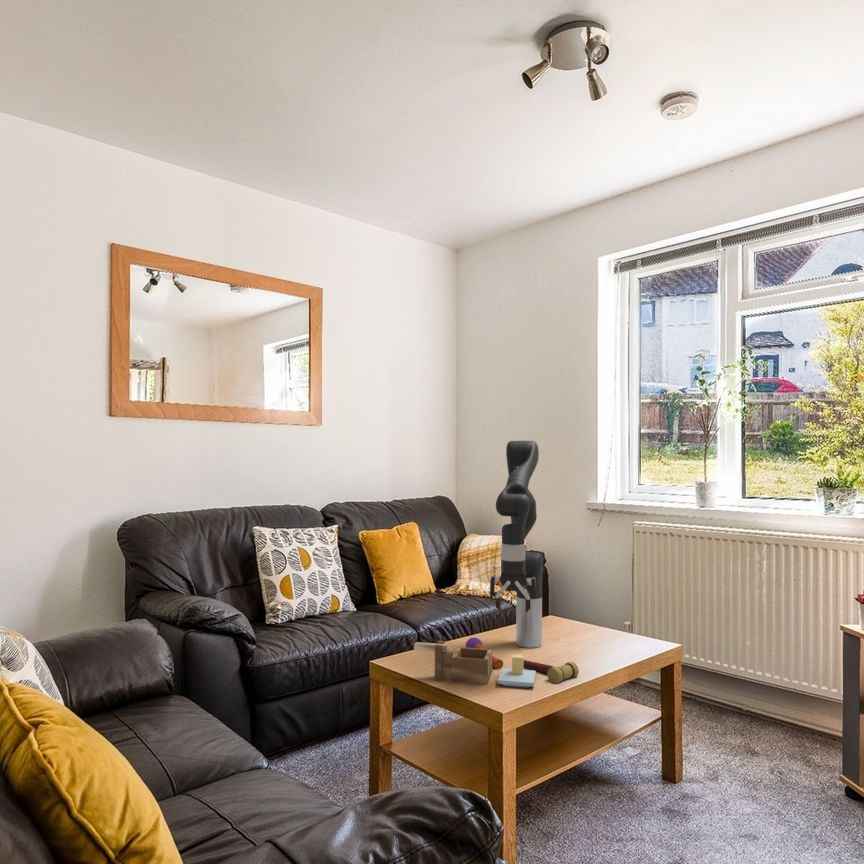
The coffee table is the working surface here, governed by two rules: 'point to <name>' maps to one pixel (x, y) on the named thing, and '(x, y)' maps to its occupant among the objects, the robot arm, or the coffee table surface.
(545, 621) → the coffee table surface
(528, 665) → the gavel
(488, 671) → the toolbox
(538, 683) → the coffee table surface
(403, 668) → the coffee table surface
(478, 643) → the kendama
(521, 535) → the robot arm
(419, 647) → the beige wooden bar
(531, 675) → the lid
